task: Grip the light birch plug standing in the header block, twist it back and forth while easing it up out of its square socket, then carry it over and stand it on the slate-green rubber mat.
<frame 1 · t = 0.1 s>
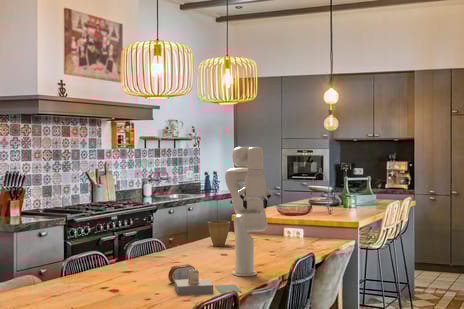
hand: (255, 208, 294), 37 cm above the table, tool pointing down, fingers open, 9 cm apart
header: (193, 291, 281), on the table
plant pot: (219, 245, 410), on the table
tin: (182, 282, 299), on the table
mat: (227, 289, 284), on the table
plug: (193, 290, 281), resting on header
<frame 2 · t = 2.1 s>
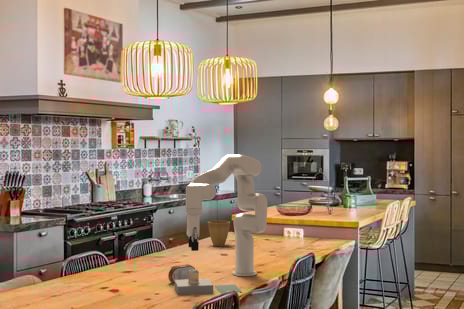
hand: (193, 248, 280), 19 cm above the table, tool pointing down, fingers open, 9 cm apart
nothing on the table moved.
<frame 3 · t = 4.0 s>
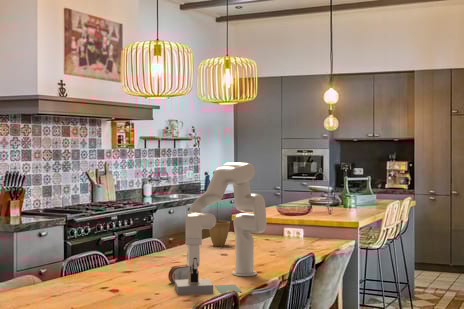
hand: (193, 280, 280), 5 cm above the table, tool pointing down, fingers closed on plug, 4 cm apart
plug: (193, 290, 281), resting on header, touching gripper
everything else where it was.
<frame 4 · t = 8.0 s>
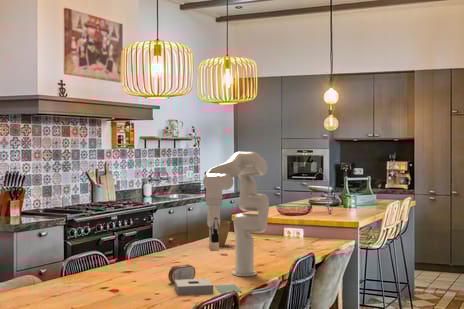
hand: (214, 241, 282), 23 cm above the table, tool pointing down, fingers closed on plug, 4 cm apart
plug: (214, 250, 282), point 18 cm above the table, touching gripper
everything else where it was.
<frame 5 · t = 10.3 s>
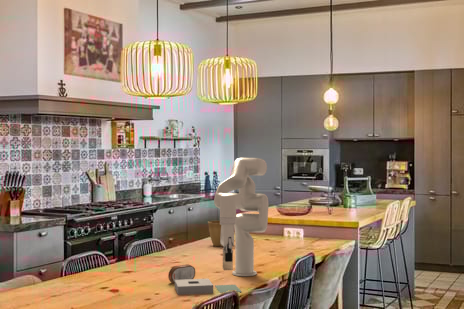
hand: (227, 260, 283), 14 cm above the table, tool pointing down, fingers closed on plug, 4 cm apart
plug: (227, 269, 283), point 9 cm above the table, touching gripper
everything else where it was.
when the fingers open (6 cm above the table, at t = 12.0 s): plug drops 2 cm, resting on mat.
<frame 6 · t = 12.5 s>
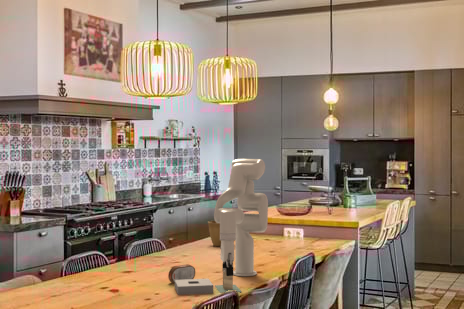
hand: (227, 273, 284), 7 cm above the table, tool pointing down, fingers open, 9 cm apart
plug: (227, 288, 284), point 1 cm above the table, touching mat
everything else where it was.
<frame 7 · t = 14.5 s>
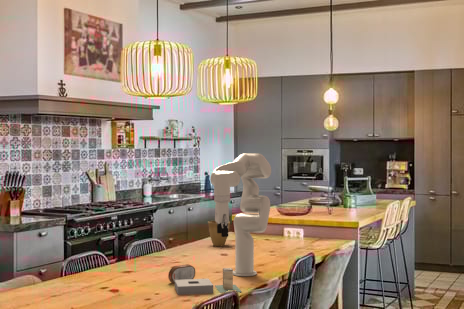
hand: (222, 234, 289), 25 cm above the table, tool pointing down, fingers open, 9 cm apart
nothing on the table moved.
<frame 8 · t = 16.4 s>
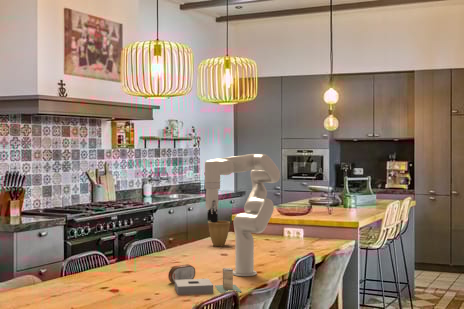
hand: (212, 221, 296), 30 cm above the table, tool pointing down, fingers open, 9 cm apart
nothing on the table moved.
at the end: plug inside the target area on the mat (0.1 cm from its centre), point 0.6 cm above the mat's base; plug tilted 0°; the gripper is holding nothing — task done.
